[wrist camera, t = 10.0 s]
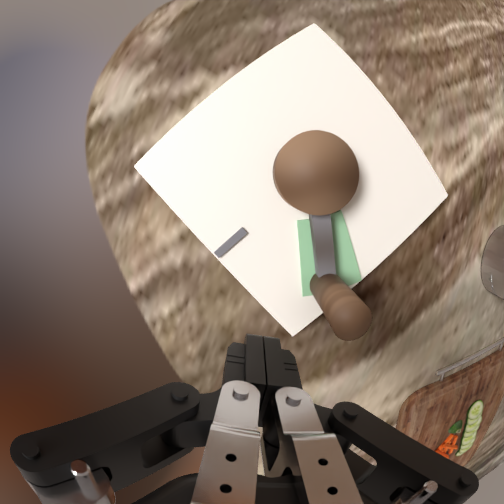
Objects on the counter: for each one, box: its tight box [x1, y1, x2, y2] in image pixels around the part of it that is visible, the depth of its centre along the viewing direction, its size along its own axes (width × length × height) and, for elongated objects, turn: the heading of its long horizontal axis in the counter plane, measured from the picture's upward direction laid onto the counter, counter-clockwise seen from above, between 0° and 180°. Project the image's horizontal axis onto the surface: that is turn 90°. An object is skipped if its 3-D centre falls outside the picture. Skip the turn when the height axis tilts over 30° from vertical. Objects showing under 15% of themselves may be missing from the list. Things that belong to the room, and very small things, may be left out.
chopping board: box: [396, 337, 504, 467], centre depth 35 cm, size 45×27×3 cm, turn 10°
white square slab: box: [134, 23, 448, 336], centre depth 23 cm, size 20×20×3 cm
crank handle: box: [273, 130, 372, 341], centre depth 19 cm, size 13×6×7 cm, turn 9°
